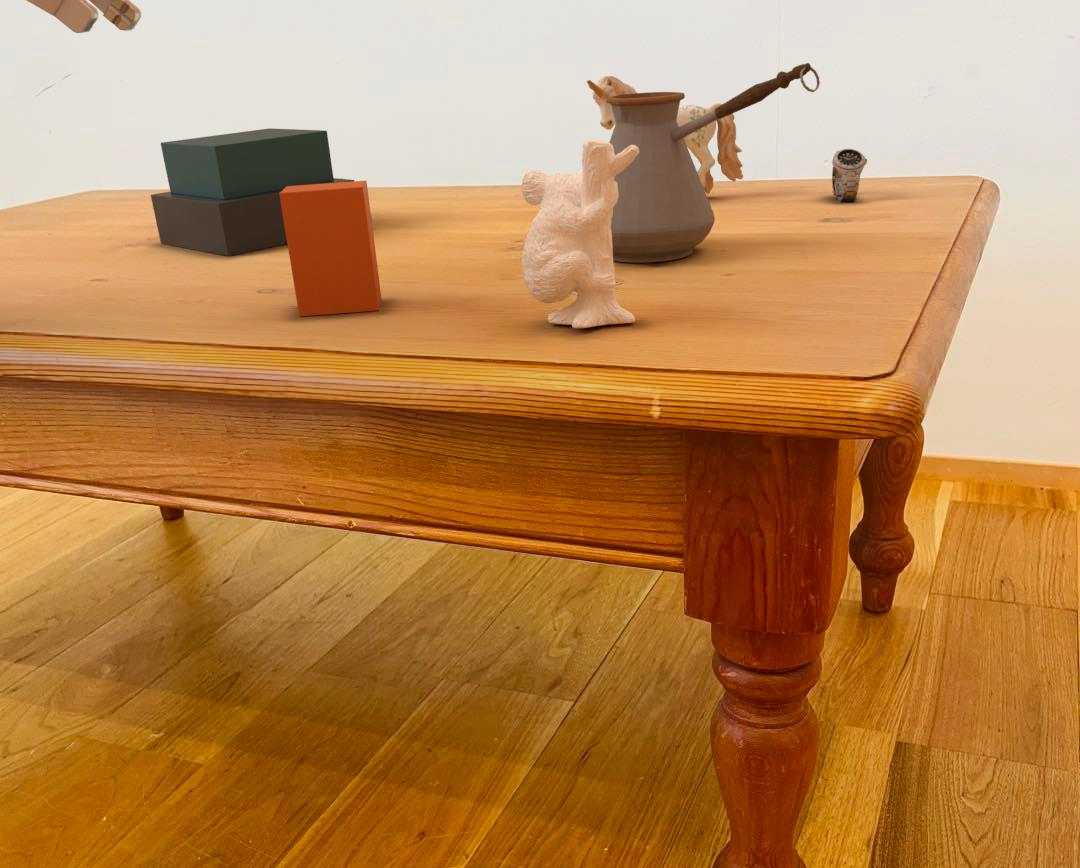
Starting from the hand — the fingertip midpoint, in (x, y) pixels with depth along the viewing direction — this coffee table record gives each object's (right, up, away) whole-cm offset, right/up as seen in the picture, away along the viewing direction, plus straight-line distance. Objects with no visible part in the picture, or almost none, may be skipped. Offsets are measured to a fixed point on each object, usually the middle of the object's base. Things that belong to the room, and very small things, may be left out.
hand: (113, 24), depth 72 cm
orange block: (+13, -17, +10) cm, 24 cm away
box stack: (-1, -2, +42) cm, 42 cm away
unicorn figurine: (+42, +1, +43) cm, 60 cm away
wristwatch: (+61, +1, +41) cm, 73 cm away
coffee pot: (+42, -11, +18) cm, 47 cm away
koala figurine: (+32, -20, +2) cm, 38 cm away
